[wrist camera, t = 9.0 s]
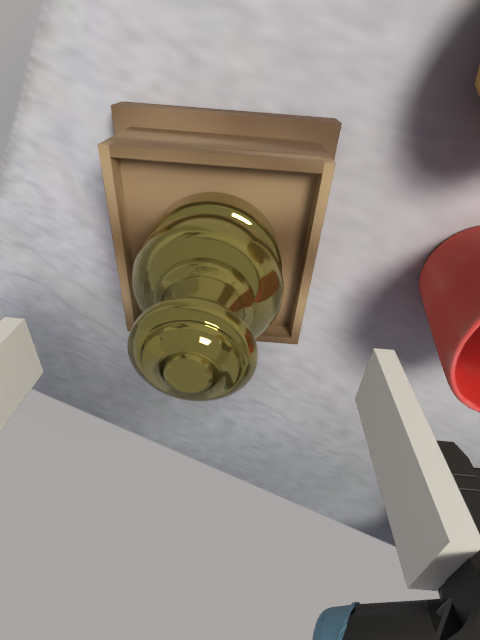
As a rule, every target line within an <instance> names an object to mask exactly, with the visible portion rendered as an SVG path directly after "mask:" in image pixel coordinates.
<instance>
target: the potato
mask: <svg viewBox="0 0 480 640" xmlns="http://www.w3.org/2000/svg"><path fill="white" fill-rule="evenodd" d="M475 86H476V89H477V92H478V95H479V98H480V64H479V69H478V73H477V77H476V82H475Z"/></svg>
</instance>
